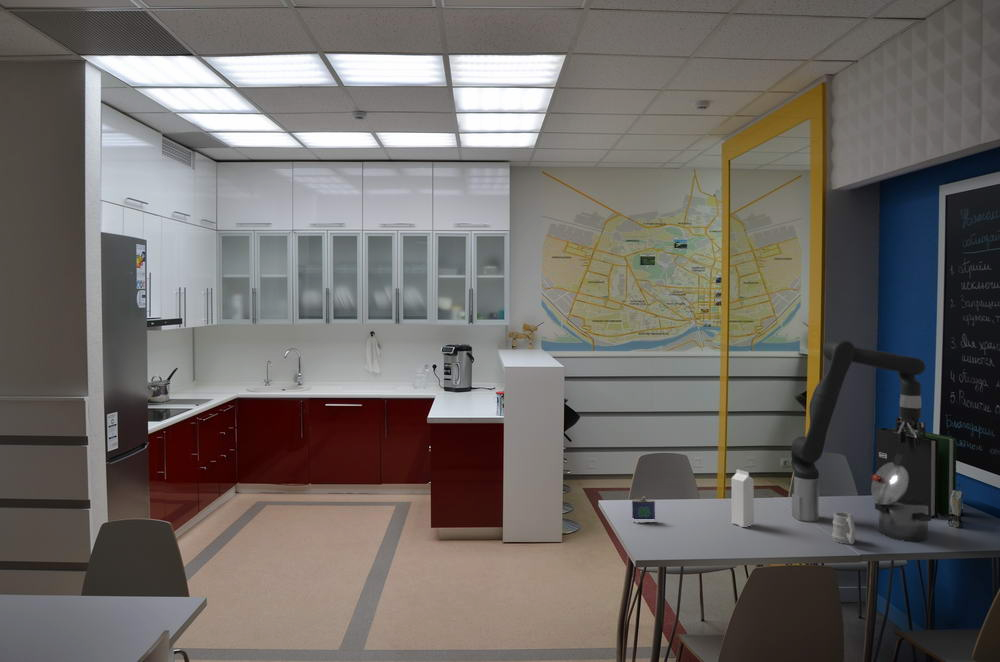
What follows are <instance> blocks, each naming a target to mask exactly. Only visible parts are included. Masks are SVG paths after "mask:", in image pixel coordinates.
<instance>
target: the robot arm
mask: <svg viewBox="0 0 1000 662" xmlns="http://www.w3.org/2000/svg"><path fill="white" fill-rule="evenodd" d="M822 353H823V355H824V357H825V358H826V359H827V360H828V361H830V362H829V363H830V364H829V367H828V370H827V372H826V373H825V375H824V377H822V378H821V380H820V381H819V383H817V385H816V387H815V388H814V390H813V393H812V395H811V399H810V401H809V406H808V407H809V408H808V409H809V413H808V414H809V427H808V430H807V434H806V435H805V436H797V437H796V438H795V439H794V440H793V441H792V444H791V451H790V453H791V454H790V455H791V467H792V471H793V493H791V517H793V518H795V519H796V520H798V521H802V522H803V521H804V522H817V521H819V519H820V513H819V512H820V511H819V510H820V508H819V507H820V506H819V505H820V503H819V502H820V499H819V495H820V494H819V493H820V491H819V490H820V481H819V479H820V477H819V476H820V474H819V470H818V468H817V467H816V465H815V462H817V461H819V460H820V459H821V457H822V455H823V452H824V447H825V442H826V438H827V433H828V429H829V427H830V424H831V420H832V417H833V414H834V411H835V409H836V406H837V403H838V399H839V396H840V393H841V389H842V387H843V384H844V381H845V378H846V375H847V373H848V371H849V369H850V368H851V366H852V363H856V364H860V365H865V366H868V367H873V368H876V369H881V370H886V371H891V372H892V371H893V372H897V374H898V375H897V376H898V379H899V383H900V397H899V416H898V417H895V426H894V427H895V431H898V433H899V442H900V443H905V435H906V434H904V433H906V431H907V430H909V431H911V433H913V435H914V437H915V438H914V447H920V446H921V438H923V437H926V432H927V431H926V422H924V421H923V422H920V421H919V419H921V417H922V397H921V396H922V395H921V393H922V389H921V388H922V386H921V382H919V381H918V380H917V379H916V376H919V375H921V374H923V373H924V372H925V370H926V364H925V362H924V361H923V360H922V359H920V358H918V357H913V356H904V355H899V354H896V353H892V352H887V351H881V350H876V349H867V348H860V347H857V346H854V344H853V343H852V342H850V341H849V340H843V339H832V340H828V341H827V342H825V344H824V345H823V347H822ZM898 427H900V428H898ZM921 431H922V434H921ZM916 433H917V434H918V435H917V434H916Z"/></svg>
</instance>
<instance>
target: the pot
mask: <svg viewBox="0 0 1000 662" xmlns="http://www.w3.org/2000/svg"><path fill="white" fill-rule="evenodd" d="M874 509H875V510H877V511H878V533H879V532H880V533H881V534H880V533H879V534H880V535H882V534H883V535H885V536H884V537H886V536H887V537H886V538H888V537H890V538H889V539H891V538H894V539H893V540H895V539H898V540H897V541H900V540H904V541H903V542H907V541H910V543H918V542H919V543H920V542H925V541H928V539H929V522H931V521H932V516H928V505H927V504H926V503H924V502H921V501H918V500H914V499H909V498H901V499H900V500H899V501H898V502H896V503H895V504H893V505H889V506H886V505H882V504H880V503H878V502H876V503H874ZM883 535H882V536H883ZM911 541H913V542H911Z"/></svg>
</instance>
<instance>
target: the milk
mask: <svg viewBox="0 0 1000 662" xmlns="http://www.w3.org/2000/svg"><path fill="white" fill-rule="evenodd" d="M754 483H755V482H754V478H752V476H750V473H749V472H748V471H745V470H741V469H739V468H738V469H736V472H735V474H734V475H733V476H732V477H731V524H732V523H735V524H738V525H740V526H743V527H745V526H749V525H754V520H755V519H754V518H755V517H754V516H755V515H754V514H755V511H754V510H755V509H754V506H755V505H754V503H755V500H754V498H755V497H754V496H755V495H754V494H755V493H754V492H755V491H754V486H755V485H754ZM754 526H755V525H754Z"/></svg>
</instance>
